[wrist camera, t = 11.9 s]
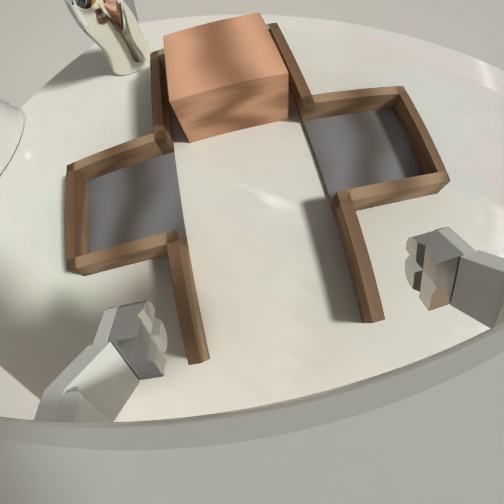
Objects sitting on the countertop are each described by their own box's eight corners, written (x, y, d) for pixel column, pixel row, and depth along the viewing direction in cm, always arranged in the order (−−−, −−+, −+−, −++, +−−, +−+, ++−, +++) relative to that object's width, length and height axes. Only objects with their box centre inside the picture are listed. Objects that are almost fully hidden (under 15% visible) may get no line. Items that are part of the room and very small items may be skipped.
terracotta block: (190, 143, 30) (169, 101, 23) (180, 78, 33) (163, 36, 26) (288, 120, 30) (288, 73, 23) (263, 57, 32) (259, 12, 25)
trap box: (100, 373, 26) (82, 377, 23) (87, 96, 33) (76, 83, 31) (466, 288, 25) (483, 284, 22) (352, 33, 32) (355, 16, 29)
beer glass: (140, 78, 33) (91, -12, 18) (100, 78, 34) (47, 1, 19) (165, 42, 34) (129, -44, 20) (125, 43, 35) (84, -32, 21)
